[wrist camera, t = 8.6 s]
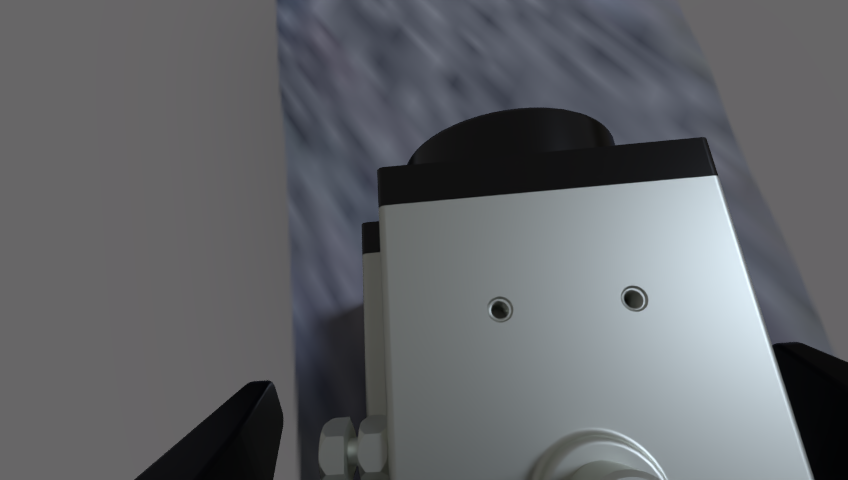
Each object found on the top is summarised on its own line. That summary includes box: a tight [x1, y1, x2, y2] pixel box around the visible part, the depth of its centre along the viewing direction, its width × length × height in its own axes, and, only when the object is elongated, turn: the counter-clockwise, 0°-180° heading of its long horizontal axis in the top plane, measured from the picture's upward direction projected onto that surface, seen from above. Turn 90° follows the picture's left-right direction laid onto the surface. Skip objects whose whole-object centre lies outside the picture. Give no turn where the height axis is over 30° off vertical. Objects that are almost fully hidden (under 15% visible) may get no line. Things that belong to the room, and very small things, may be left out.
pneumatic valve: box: [319, 108, 814, 480], centre depth 10 cm, size 6×12×12 cm, turn 4°
